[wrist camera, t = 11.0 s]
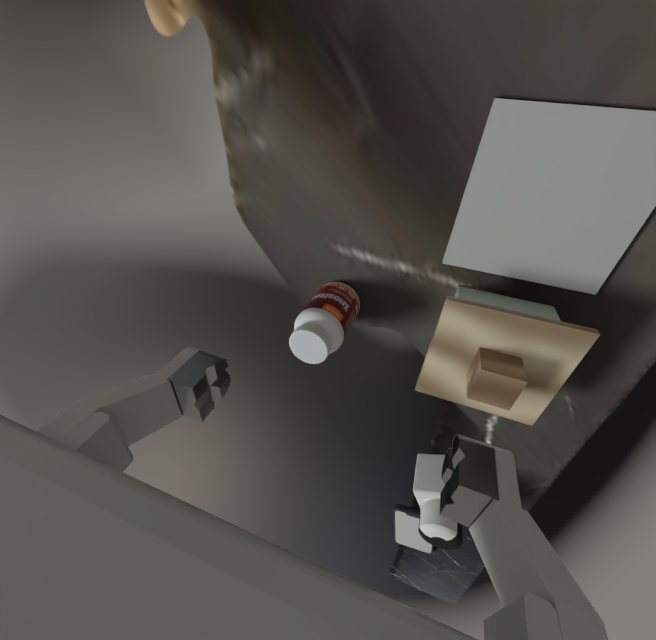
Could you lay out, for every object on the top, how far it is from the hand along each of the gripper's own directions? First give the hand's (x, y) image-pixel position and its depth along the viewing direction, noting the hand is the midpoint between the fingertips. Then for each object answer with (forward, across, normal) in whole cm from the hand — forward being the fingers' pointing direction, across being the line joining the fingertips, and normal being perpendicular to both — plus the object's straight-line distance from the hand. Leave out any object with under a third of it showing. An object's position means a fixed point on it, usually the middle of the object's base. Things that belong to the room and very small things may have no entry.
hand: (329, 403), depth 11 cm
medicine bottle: (+28, -14, +42) cm, 53 cm away
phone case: (+28, -15, +67) cm, 74 cm away
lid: (+22, -12, +13) cm, 28 cm away
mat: (+28, -12, -2) cm, 31 cm away
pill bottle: (+28, +8, +14) cm, 33 cm away
